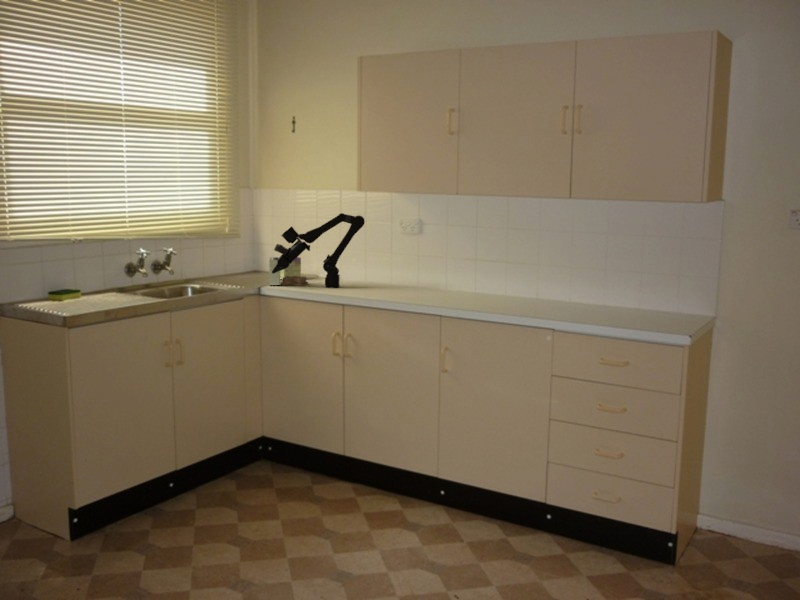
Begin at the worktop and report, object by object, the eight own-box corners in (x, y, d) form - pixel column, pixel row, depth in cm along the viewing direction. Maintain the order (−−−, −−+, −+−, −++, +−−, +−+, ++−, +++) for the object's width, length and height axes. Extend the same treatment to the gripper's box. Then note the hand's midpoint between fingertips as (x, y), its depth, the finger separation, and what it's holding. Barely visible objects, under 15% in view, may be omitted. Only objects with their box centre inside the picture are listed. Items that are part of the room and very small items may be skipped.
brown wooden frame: (307, 283, 409) (308, 276, 409) (304, 286, 400) (304, 279, 399) (284, 282, 410) (284, 275, 410) (280, 285, 400) (280, 278, 400)
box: (295, 278, 428) (295, 256, 427) (300, 279, 424) (301, 257, 422) (278, 279, 422) (278, 257, 420) (283, 280, 418) (284, 258, 416)
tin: (279, 285, 401) (280, 257, 399) (279, 286, 396) (279, 258, 394) (269, 284, 400) (270, 257, 399) (269, 286, 396) (269, 258, 394)
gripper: (286, 237, 404) (263, 258, 405) (282, 240, 386) (258, 262, 387) (301, 253, 406) (279, 274, 407) (298, 256, 387) (275, 279, 389)
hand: (272, 272), depth 397 cm, fingers closed on tin, 5 cm apart
